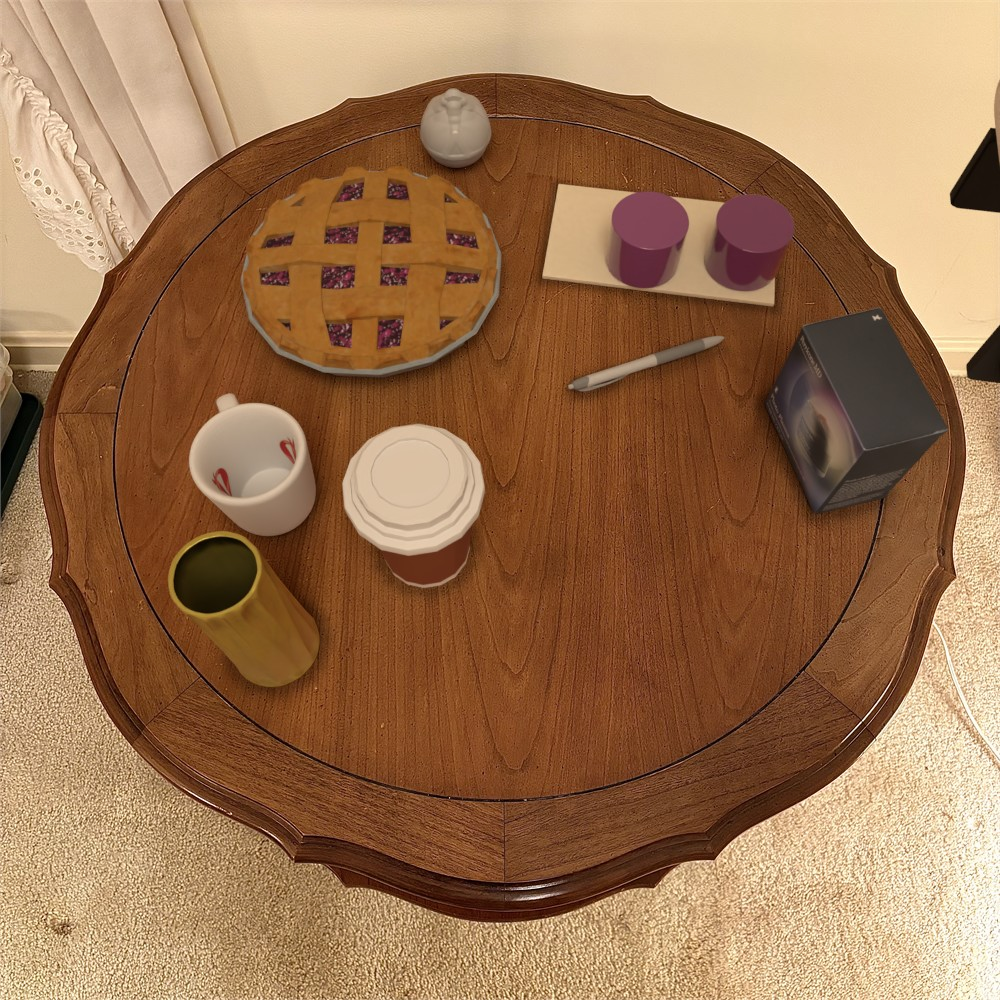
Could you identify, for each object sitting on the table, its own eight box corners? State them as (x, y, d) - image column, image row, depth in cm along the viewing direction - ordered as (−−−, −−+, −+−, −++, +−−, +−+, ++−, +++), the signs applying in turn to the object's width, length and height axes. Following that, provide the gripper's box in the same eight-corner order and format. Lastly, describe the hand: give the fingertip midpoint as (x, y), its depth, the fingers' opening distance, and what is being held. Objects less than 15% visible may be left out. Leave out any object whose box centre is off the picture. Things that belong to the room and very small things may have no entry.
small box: (757, 402, 68) (797, 321, 59) (831, 385, 69) (883, 302, 59) (810, 518, 64) (862, 450, 54) (889, 498, 64) (955, 427, 55)
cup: (197, 453, 66) (159, 398, 59) (292, 413, 68) (266, 355, 61) (244, 567, 62) (209, 523, 55) (343, 522, 64) (323, 472, 57)
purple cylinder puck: (778, 239, 75) (795, 198, 71) (777, 295, 72) (794, 257, 68) (706, 230, 75) (718, 189, 71) (702, 286, 73) (714, 247, 68)
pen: (565, 388, 69) (566, 379, 68) (718, 339, 71) (722, 329, 70) (569, 398, 68) (571, 389, 67) (724, 348, 70) (728, 338, 69)
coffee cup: (371, 490, 65) (345, 407, 54) (490, 493, 65) (487, 410, 54) (359, 603, 61) (327, 538, 50) (485, 607, 61) (481, 542, 50)
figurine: (490, 128, 82) (488, 53, 75) (493, 181, 79) (491, 108, 72) (422, 131, 82) (414, 56, 75) (423, 184, 79) (415, 111, 72)
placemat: (775, 211, 77) (777, 207, 77) (773, 306, 72) (774, 303, 72) (558, 186, 79) (558, 182, 78) (542, 278, 74) (542, 274, 73)
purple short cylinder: (680, 236, 75) (691, 195, 71) (676, 292, 72) (686, 253, 68) (609, 228, 76) (615, 187, 71) (601, 283, 73) (607, 244, 69)
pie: (487, 186, 79) (486, 143, 74) (517, 382, 69) (518, 345, 65) (251, 208, 78) (235, 165, 73) (249, 410, 68) (230, 374, 64)
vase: (338, 645, 60) (291, 573, 47) (268, 706, 58) (201, 649, 45) (284, 587, 62) (226, 502, 49) (216, 644, 60) (136, 572, 47)
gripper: (1128, -313, 26) (896, 140, 41) (1254, 60, 19) (915, 443, 34) (1386, -296, 26) (1054, 157, 41) (1622, 96, 18) (1108, 469, 34)
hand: (991, 287), depth 37 cm, fingers open, 9 cm apart
